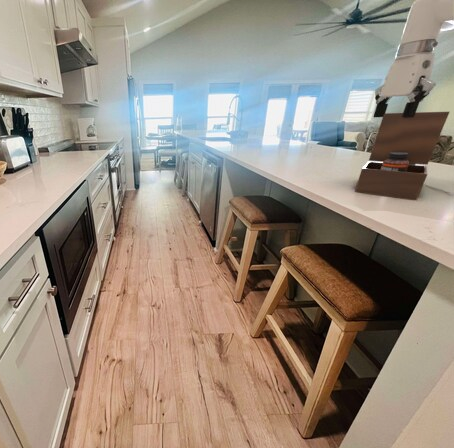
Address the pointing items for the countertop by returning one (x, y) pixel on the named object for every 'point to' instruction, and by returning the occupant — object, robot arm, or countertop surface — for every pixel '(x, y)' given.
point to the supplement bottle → (396, 162)
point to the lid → (408, 136)
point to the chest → (392, 181)
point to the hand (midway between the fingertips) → (392, 117)
